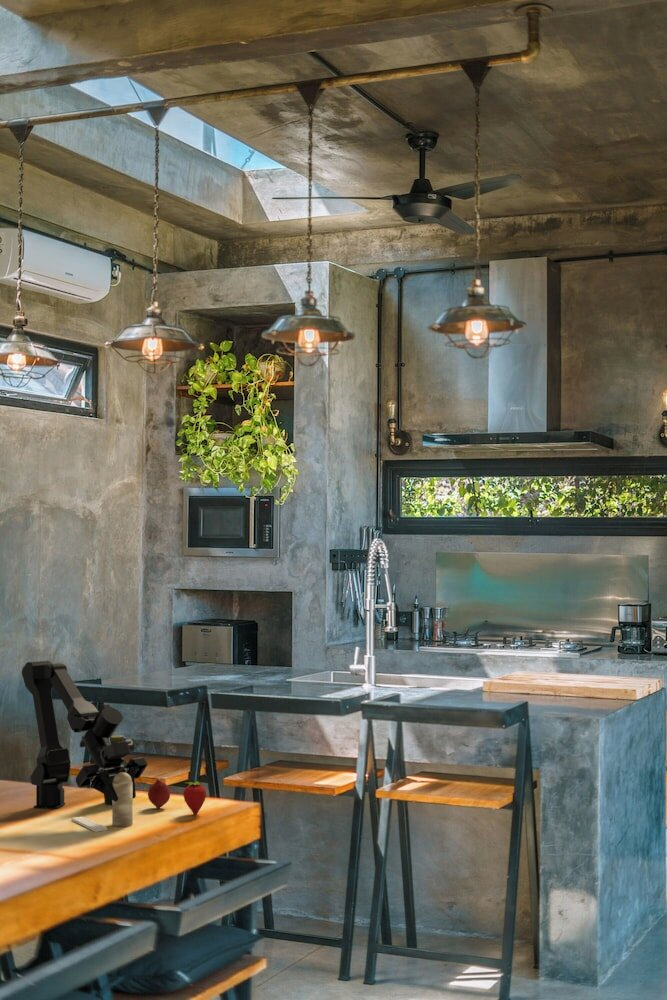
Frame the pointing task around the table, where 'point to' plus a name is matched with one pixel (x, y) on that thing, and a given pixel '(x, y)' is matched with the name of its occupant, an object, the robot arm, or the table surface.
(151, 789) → the onion
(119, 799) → the skittle
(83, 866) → the table surface
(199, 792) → the strawberry
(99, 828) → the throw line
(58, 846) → the table surface
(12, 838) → the table surface
